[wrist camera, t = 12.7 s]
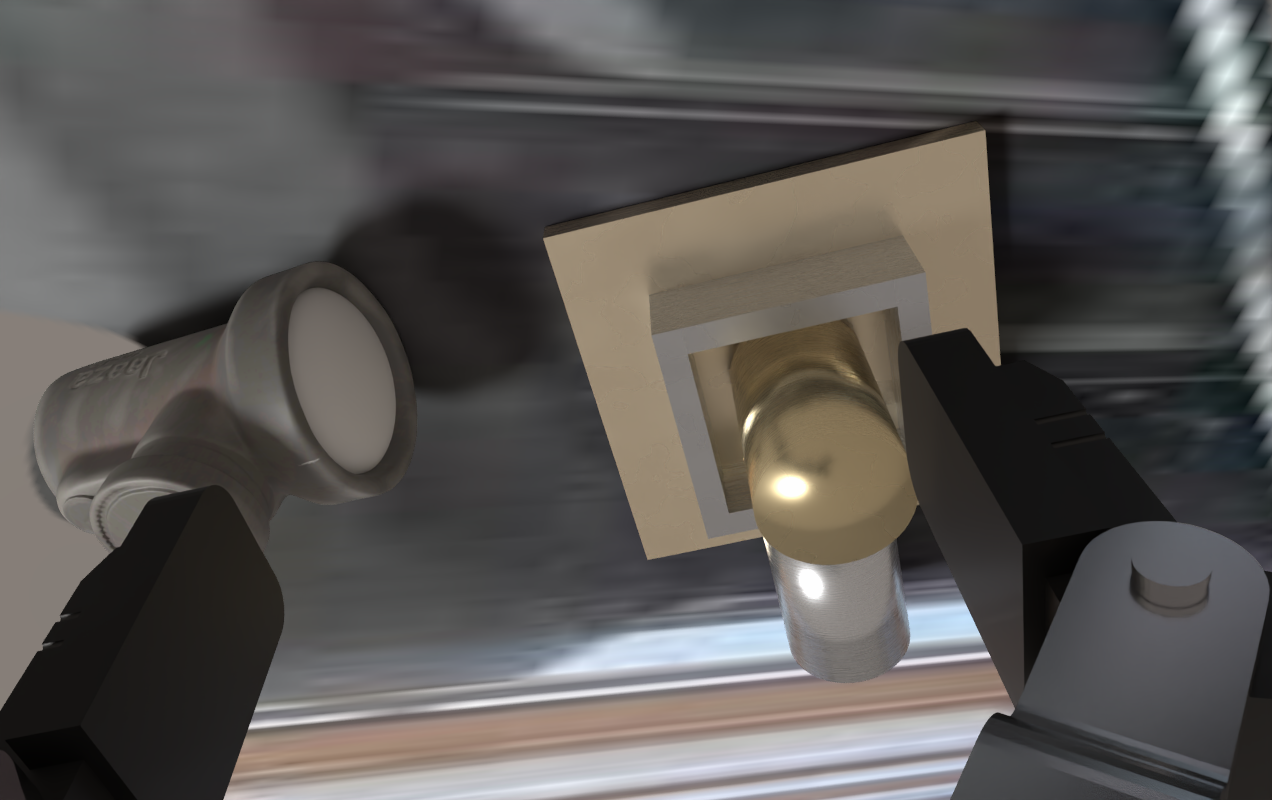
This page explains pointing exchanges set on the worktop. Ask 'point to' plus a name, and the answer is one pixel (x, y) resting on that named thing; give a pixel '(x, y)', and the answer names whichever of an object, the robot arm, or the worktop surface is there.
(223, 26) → the worktop surface
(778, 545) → the brass cylinder plug
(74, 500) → the pipe fitting
